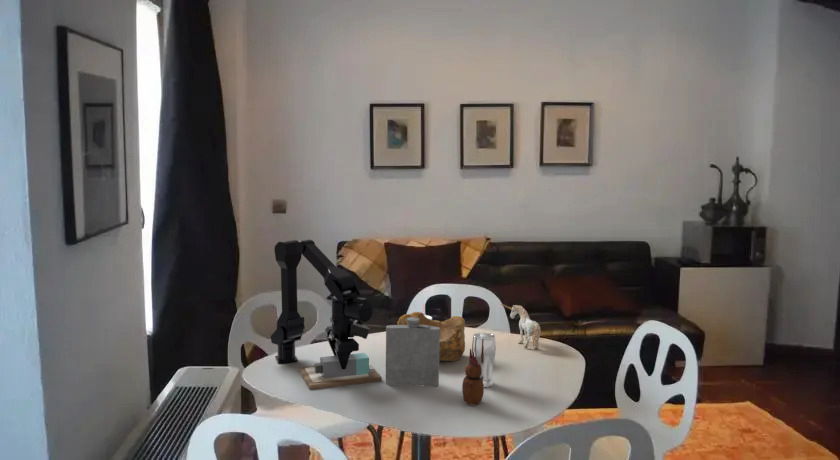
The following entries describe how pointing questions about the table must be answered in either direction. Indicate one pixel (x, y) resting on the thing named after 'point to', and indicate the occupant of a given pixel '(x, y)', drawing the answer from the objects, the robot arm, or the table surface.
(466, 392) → the wooden figurine
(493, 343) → the beer glass
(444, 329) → the rough brown rock
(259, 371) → the table surface
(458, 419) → the table surface
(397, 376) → the hip flask
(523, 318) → the unicorn figurine
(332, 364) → the marker
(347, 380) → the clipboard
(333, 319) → the robot arm
